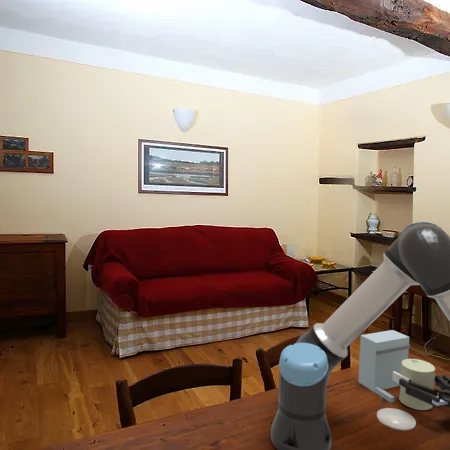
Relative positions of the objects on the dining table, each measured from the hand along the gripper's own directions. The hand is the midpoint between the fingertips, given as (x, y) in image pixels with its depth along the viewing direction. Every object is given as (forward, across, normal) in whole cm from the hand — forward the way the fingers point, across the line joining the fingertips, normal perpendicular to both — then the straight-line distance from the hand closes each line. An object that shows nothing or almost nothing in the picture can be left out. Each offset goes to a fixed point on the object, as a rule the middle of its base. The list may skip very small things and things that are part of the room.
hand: (404, 373), depth 127 cm
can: (-5, 0, -7) cm, 9 cm away
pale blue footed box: (+5, 0, -7) cm, 9 cm away
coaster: (-9, -13, -7) cm, 17 cm away
